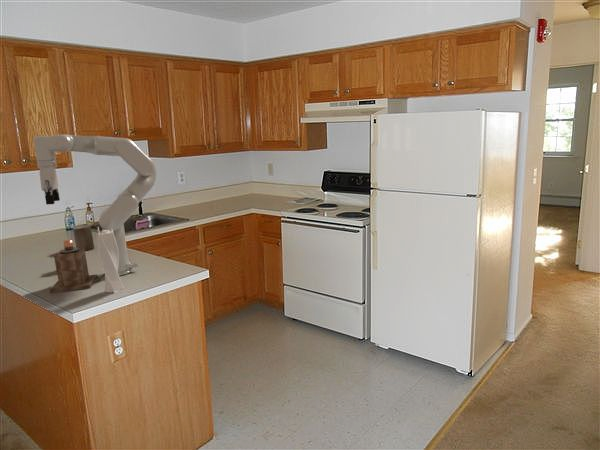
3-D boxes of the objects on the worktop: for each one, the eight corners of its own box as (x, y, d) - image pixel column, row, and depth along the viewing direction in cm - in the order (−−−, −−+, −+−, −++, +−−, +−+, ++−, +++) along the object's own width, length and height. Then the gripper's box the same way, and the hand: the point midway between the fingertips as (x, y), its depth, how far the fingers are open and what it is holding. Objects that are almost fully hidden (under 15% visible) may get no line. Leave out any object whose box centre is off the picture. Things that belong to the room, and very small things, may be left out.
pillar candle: (97, 248, 269) (93, 223, 266) (81, 252, 261) (77, 226, 258) (88, 246, 275) (84, 222, 272) (73, 250, 267) (68, 225, 264)
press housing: (97, 277, 215) (92, 245, 211) (90, 288, 200) (84, 254, 197) (60, 281, 212) (55, 249, 208) (50, 292, 197) (44, 258, 194)
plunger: (84, 276, 210) (78, 238, 206) (80, 281, 203) (74, 241, 199) (68, 278, 208) (61, 239, 204) (63, 283, 202) (56, 243, 198)
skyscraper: (100, 292, 194) (90, 228, 188) (112, 286, 201) (103, 224, 195) (114, 294, 192) (105, 229, 185) (127, 287, 198) (118, 224, 192)
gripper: (42, 163, 209) (48, 200, 213) (32, 166, 193) (38, 206, 197) (60, 162, 211) (66, 199, 215) (51, 165, 195) (57, 204, 198)
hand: (53, 202), depth 206 cm, fingers open, 9 cm apart
